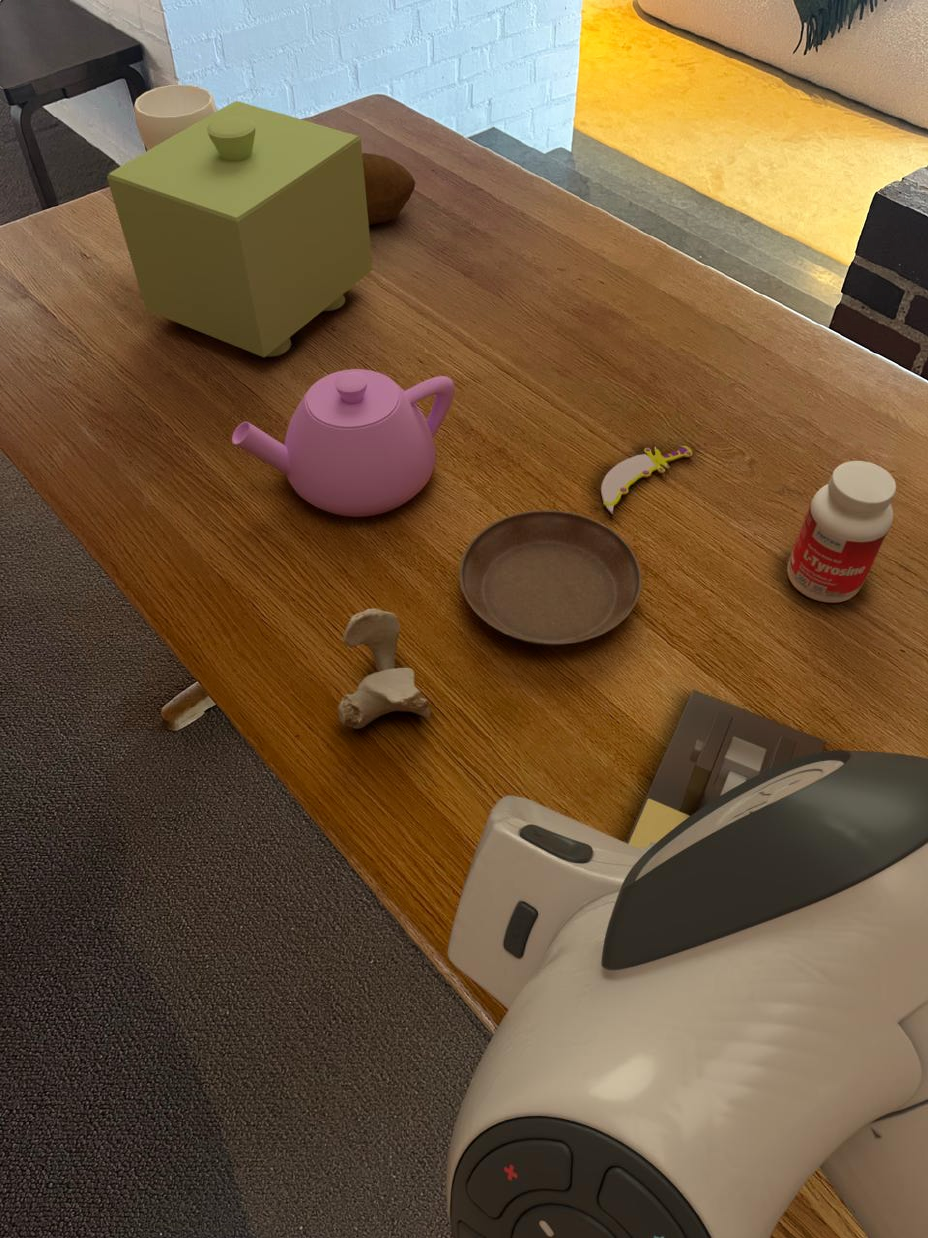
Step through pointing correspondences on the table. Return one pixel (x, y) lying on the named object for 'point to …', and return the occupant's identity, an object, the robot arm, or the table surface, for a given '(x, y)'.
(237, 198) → the container
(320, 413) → the teapot
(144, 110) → the cup
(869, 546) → the pill bottle
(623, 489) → the decorative knife
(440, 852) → the table surface
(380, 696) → the bone
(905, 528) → the table surface
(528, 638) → the saucer
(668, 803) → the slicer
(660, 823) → the butter
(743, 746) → the ball-knob lever switch
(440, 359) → the table surface
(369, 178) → the potato
